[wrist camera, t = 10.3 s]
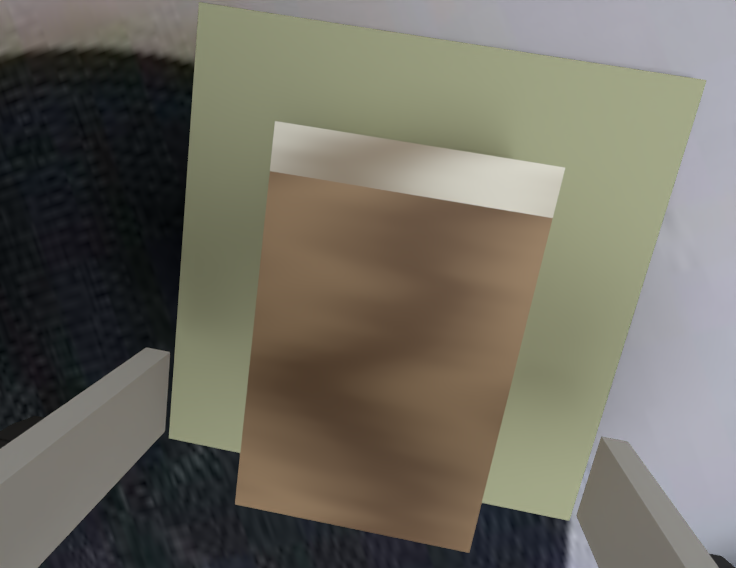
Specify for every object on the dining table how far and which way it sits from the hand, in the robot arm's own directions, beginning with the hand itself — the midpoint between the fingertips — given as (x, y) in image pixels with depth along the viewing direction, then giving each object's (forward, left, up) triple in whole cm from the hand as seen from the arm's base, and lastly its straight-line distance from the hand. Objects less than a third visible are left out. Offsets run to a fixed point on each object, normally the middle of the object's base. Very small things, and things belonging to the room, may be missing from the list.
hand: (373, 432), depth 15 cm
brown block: (+2, -2, -2) cm, 4 cm away
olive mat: (-2, +2, -7) cm, 8 cm away
